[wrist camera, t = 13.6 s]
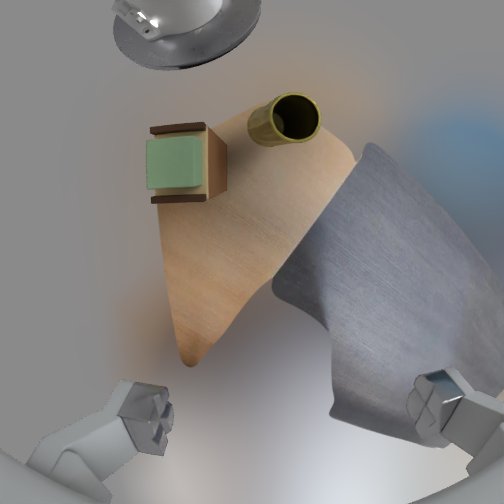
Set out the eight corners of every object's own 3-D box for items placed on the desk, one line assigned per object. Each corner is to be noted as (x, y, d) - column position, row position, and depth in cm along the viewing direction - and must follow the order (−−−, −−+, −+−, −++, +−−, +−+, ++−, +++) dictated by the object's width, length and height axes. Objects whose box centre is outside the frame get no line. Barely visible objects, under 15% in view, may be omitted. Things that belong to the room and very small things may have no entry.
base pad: (194, 146, 39) (149, 127, 21) (226, 144, 38) (203, 121, 21) (195, 191, 40) (150, 203, 23) (227, 190, 40) (204, 201, 23)
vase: (241, 114, 36) (255, 96, 23) (280, 101, 36) (314, 81, 23) (255, 152, 38) (277, 155, 25) (294, 139, 38) (333, 138, 25)
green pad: (159, 143, 23) (145, 140, 20) (202, 140, 23) (194, 135, 19) (159, 187, 24) (146, 189, 21) (202, 185, 24) (195, 186, 21)
